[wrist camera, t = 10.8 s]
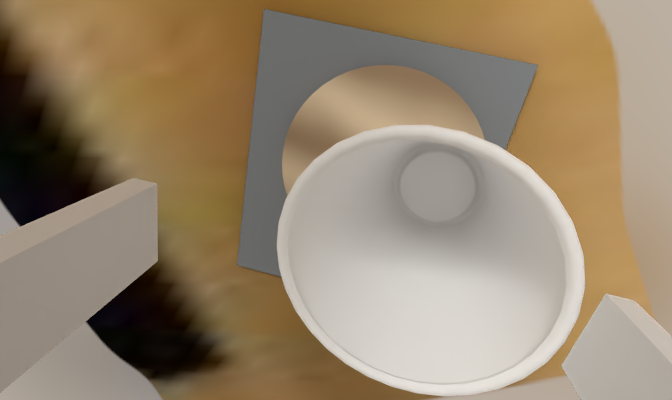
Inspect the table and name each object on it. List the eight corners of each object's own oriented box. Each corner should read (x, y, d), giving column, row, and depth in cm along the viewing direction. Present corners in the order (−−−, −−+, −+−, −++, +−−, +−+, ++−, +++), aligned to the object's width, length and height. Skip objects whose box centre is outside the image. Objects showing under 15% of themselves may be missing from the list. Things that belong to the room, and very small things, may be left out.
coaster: (300, 44, 21) (298, 44, 20) (518, 90, 20) (522, 91, 19) (273, 233, 25) (270, 237, 25) (447, 278, 24) (448, 283, 24)
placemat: (266, 10, 21) (263, 8, 20) (535, 65, 19) (538, 64, 19) (239, 262, 27) (236, 265, 27) (438, 315, 26) (439, 318, 26)
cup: (544, 246, 20) (612, 405, 10) (383, 267, 24) (324, 394, 14) (508, 75, 18) (551, 72, 8) (340, 130, 22) (236, 171, 12)
